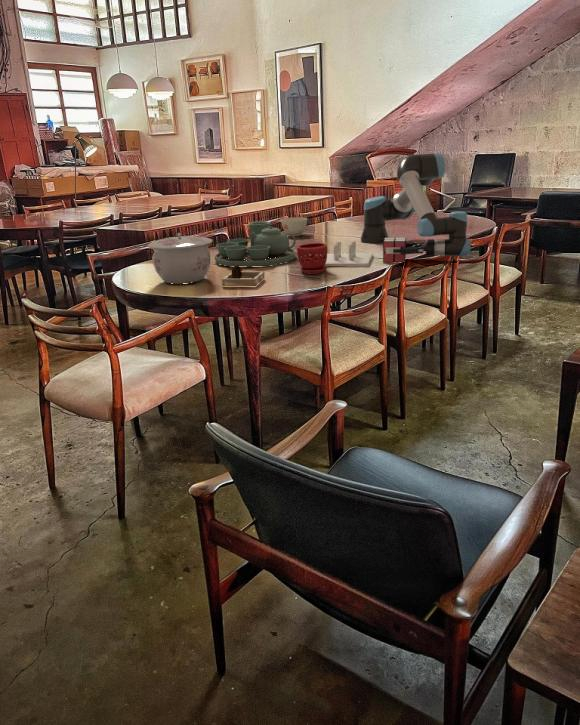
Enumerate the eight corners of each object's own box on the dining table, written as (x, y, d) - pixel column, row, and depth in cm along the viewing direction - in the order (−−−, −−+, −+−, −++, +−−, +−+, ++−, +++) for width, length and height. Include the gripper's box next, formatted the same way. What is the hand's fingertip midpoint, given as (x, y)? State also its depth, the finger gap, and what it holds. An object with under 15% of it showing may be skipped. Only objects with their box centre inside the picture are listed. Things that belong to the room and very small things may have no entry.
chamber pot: (180, 292, 233) (173, 240, 226) (139, 284, 250) (132, 235, 243) (230, 278, 253) (226, 229, 245) (189, 271, 270) (184, 226, 262)
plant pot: (322, 267, 263) (322, 241, 259) (331, 273, 251) (330, 245, 247) (294, 270, 260) (293, 243, 256) (302, 276, 248) (301, 248, 244)
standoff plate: (324, 256, 288) (323, 239, 285) (372, 256, 282) (372, 238, 279) (315, 266, 266) (314, 248, 263) (367, 266, 261) (367, 247, 258)
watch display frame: (233, 279, 249) (232, 271, 248) (264, 279, 246) (264, 271, 245) (222, 287, 237) (221, 279, 235) (255, 287, 234) (254, 279, 232)
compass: (246, 285, 239) (245, 268, 236) (231, 284, 242) (230, 266, 240) (257, 281, 245) (256, 264, 242) (242, 279, 249) (241, 262, 246)
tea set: (206, 258, 299) (203, 226, 293) (279, 250, 312) (277, 218, 306) (228, 273, 264) (225, 236, 258) (308, 262, 277) (307, 227, 272)
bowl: (278, 235, 357) (277, 218, 354) (303, 233, 361) (302, 216, 358) (286, 239, 343) (285, 221, 339) (311, 236, 347) (311, 219, 343)
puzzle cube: (405, 263, 264) (405, 241, 261) (382, 263, 266) (383, 241, 263) (405, 258, 273) (406, 237, 270) (384, 259, 275) (384, 237, 272)
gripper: (434, 261, 254) (384, 261, 259) (434, 250, 276) (388, 251, 281) (435, 244, 251) (384, 244, 256) (435, 234, 273) (388, 235, 278)
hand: (386, 248), depth 269 cm, fingers open, 12 cm apart
